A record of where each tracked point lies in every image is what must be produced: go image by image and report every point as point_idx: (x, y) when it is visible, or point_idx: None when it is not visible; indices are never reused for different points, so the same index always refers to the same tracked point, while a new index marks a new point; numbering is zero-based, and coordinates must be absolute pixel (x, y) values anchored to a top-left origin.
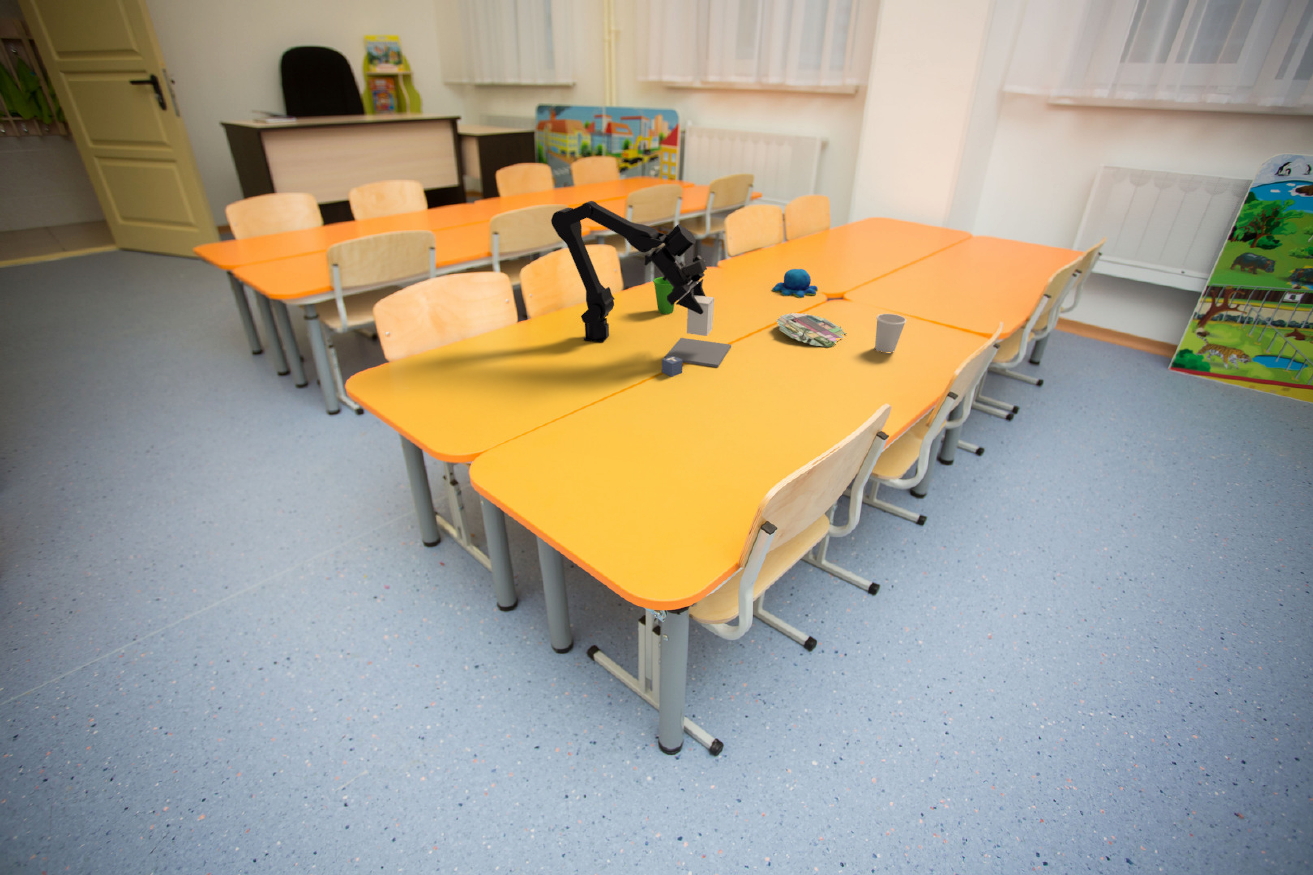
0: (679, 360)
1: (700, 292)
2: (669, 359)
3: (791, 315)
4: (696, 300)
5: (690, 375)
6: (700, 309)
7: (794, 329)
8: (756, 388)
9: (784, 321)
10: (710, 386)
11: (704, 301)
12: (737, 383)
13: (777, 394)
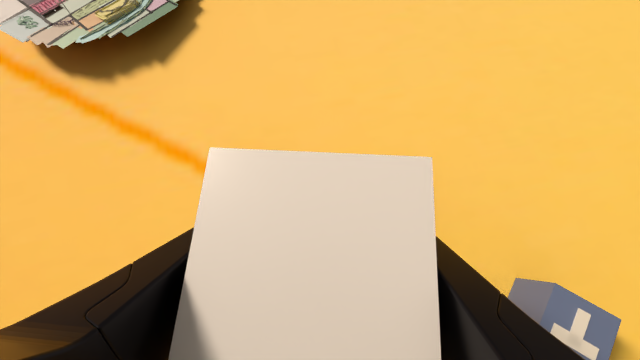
0: (568, 295)
1: (134, 322)
2: (588, 344)
3: (9, 17)
4: (468, 307)
5: (521, 244)
6: (440, 243)
7: (118, 3)
8: (512, 53)
9: (61, 29)
10: (567, 166)
11: (373, 215)
12: (506, 100)
13: (521, 7)
